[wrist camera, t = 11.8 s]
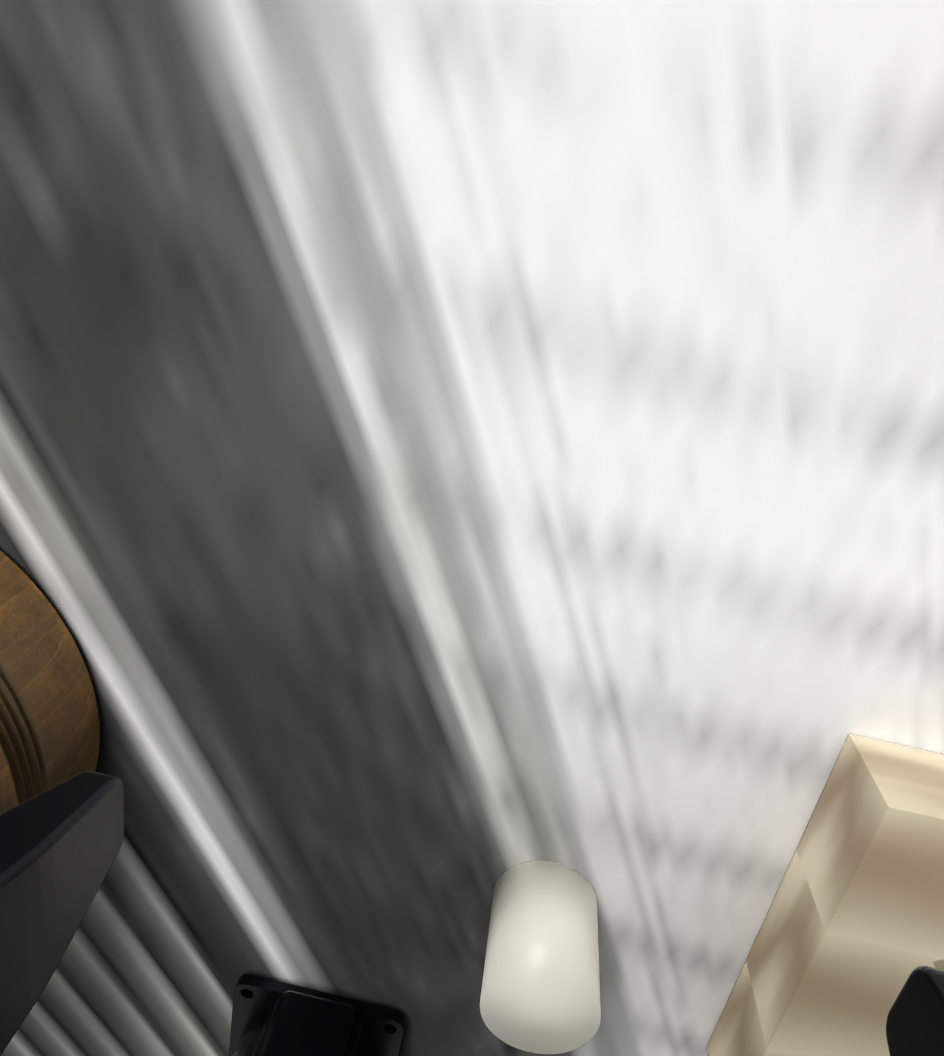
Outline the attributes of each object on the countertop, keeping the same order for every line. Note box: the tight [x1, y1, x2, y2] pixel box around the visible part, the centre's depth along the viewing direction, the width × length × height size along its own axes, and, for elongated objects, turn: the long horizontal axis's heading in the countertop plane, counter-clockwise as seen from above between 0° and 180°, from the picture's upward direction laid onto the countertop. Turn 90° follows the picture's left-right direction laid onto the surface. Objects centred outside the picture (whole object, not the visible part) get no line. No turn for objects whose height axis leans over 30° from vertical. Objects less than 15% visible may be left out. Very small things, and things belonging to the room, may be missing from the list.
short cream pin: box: [480, 860, 601, 1054], centre depth 24 cm, size 4×4×4 cm
